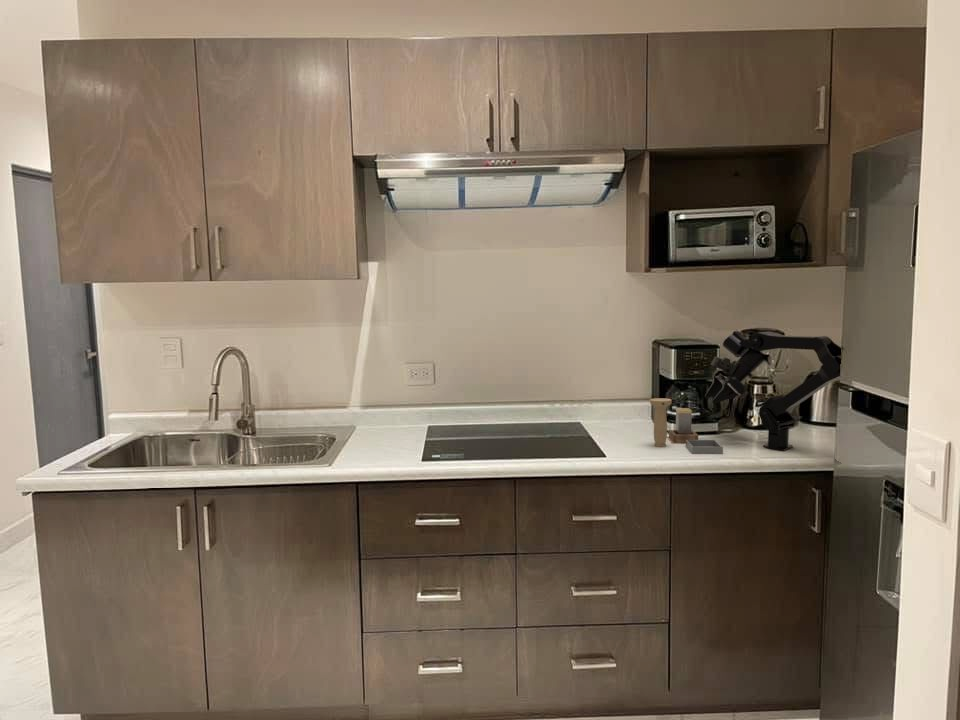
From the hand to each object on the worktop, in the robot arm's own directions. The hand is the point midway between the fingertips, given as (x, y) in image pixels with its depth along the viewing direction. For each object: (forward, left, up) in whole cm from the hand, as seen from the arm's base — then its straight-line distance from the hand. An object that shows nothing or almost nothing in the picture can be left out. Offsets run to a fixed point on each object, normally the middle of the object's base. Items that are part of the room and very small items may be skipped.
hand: (709, 400), depth 212 cm
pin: (+6, -5, -13) cm, 15 cm away
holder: (+6, -5, -13) cm, 15 cm away
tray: (+12, +6, -13) cm, 19 cm away
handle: (+17, -6, -13) cm, 23 cm away
